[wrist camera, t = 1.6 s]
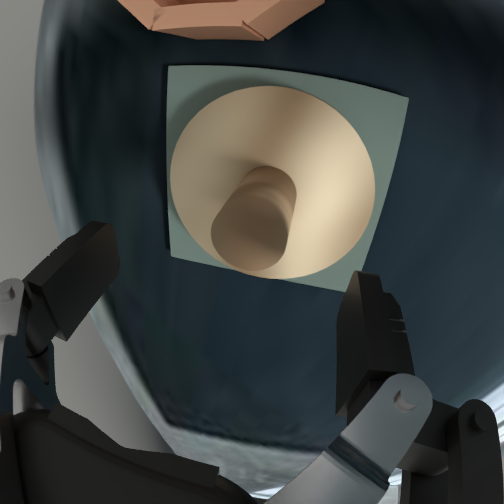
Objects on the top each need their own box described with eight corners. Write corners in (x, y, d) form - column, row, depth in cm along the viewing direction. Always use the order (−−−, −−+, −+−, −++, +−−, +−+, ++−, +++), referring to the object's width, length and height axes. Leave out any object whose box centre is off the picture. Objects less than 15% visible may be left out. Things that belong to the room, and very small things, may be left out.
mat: (406, 97, 12) (408, 98, 11) (352, 288, 18) (352, 293, 18) (172, 66, 13) (168, 65, 13) (174, 252, 20) (171, 256, 19)
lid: (390, 108, 12) (430, 128, 7) (343, 281, 18) (345, 353, 13) (181, 79, 13) (116, 88, 8) (181, 248, 19) (140, 306, 14)
